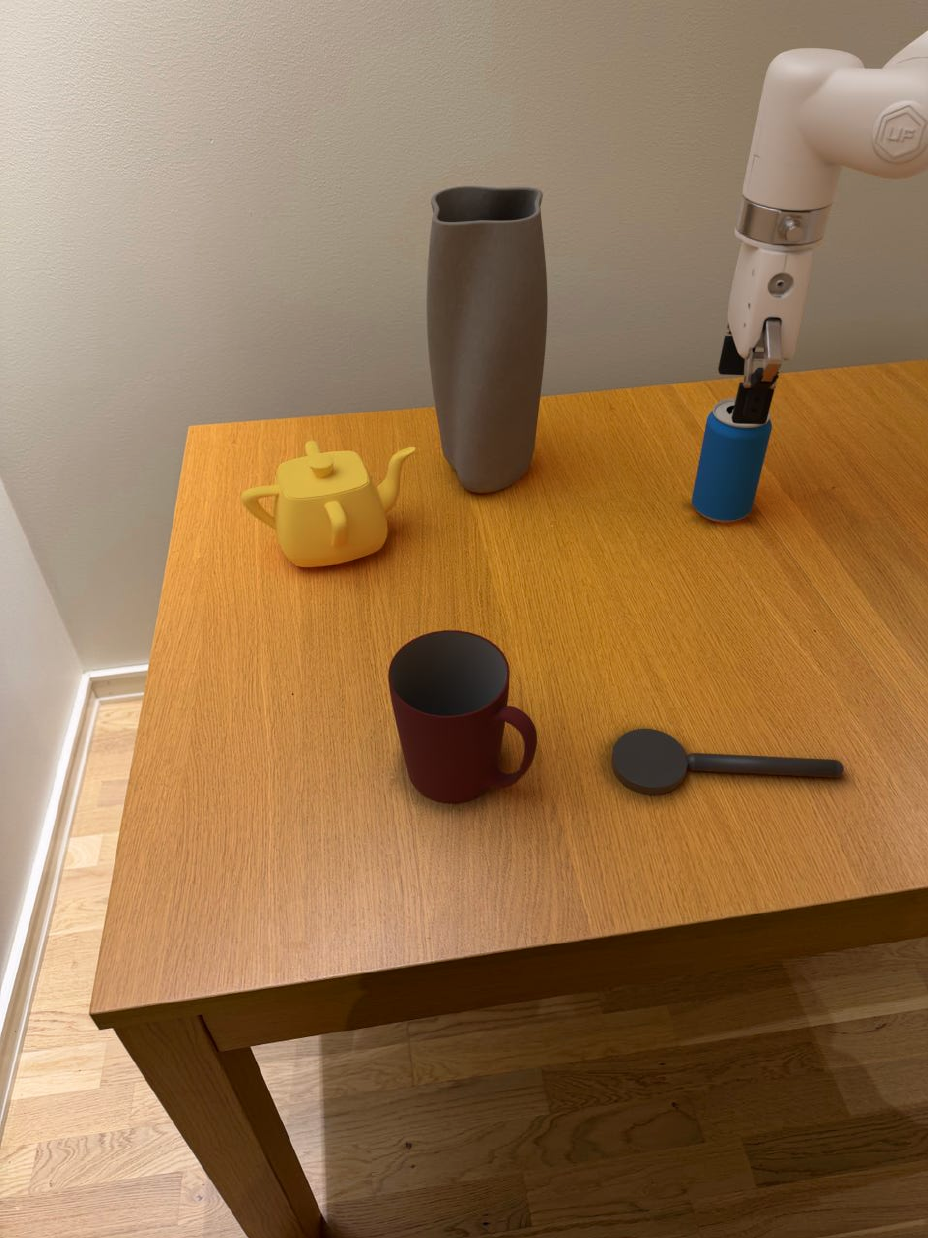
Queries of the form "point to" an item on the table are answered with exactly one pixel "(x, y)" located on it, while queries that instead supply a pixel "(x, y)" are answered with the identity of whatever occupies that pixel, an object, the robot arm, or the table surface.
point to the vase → (487, 329)
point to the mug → (455, 714)
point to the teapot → (328, 506)
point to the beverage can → (729, 465)
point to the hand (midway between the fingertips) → (740, 396)
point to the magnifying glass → (696, 763)
